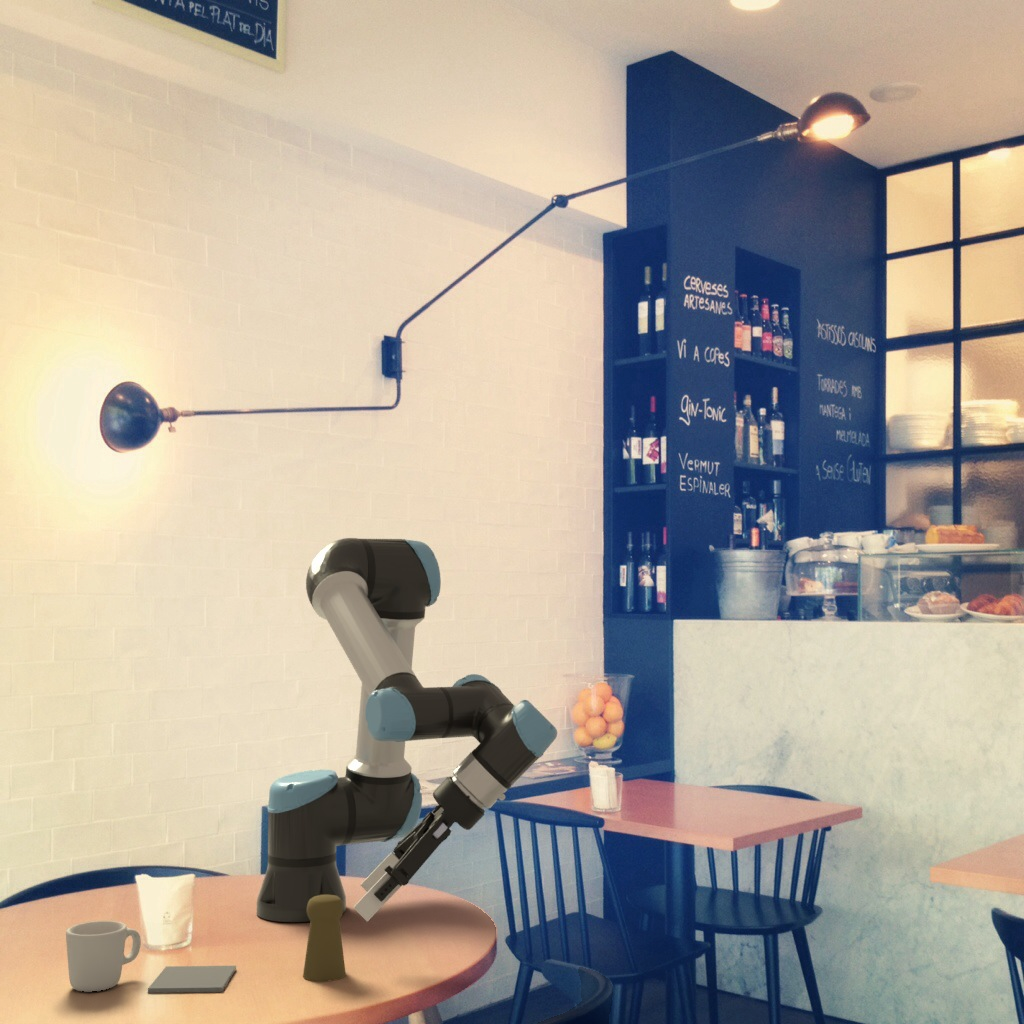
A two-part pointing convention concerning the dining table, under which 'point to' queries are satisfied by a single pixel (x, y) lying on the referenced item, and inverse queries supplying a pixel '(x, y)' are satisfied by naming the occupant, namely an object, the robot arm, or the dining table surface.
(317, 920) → the pepper mill
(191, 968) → the coaster
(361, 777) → the robot arm
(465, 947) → the dining table surface
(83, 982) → the cup
